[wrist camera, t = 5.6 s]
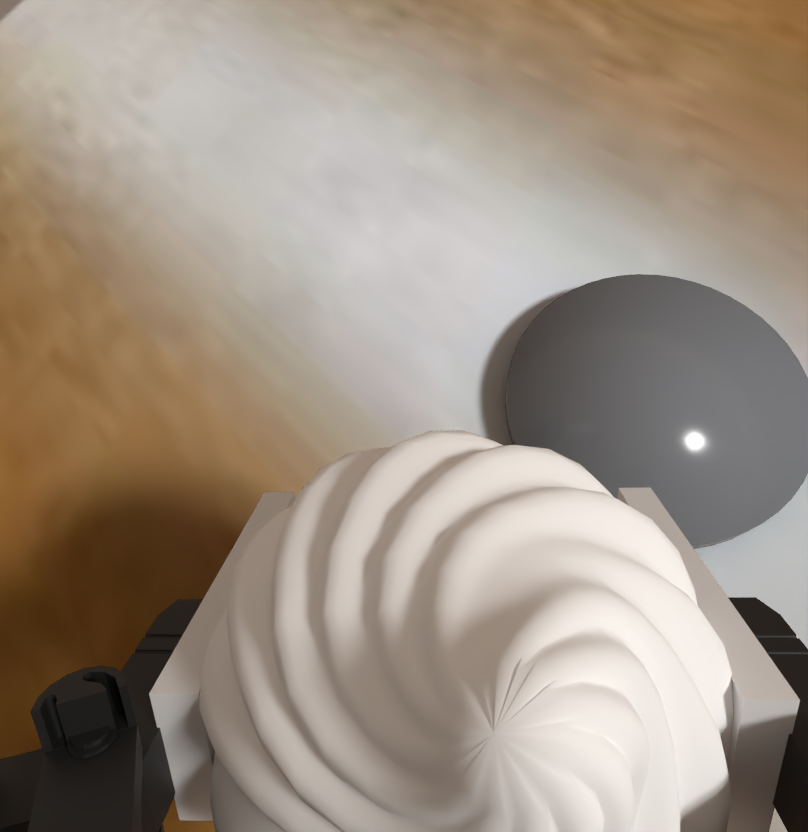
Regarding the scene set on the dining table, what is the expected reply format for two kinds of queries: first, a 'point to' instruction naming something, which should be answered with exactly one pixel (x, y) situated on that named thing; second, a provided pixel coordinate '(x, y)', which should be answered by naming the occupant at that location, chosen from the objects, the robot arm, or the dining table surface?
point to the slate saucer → (666, 399)
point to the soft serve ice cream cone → (464, 656)
